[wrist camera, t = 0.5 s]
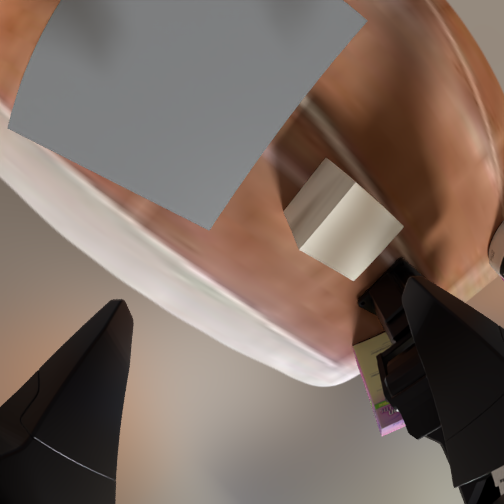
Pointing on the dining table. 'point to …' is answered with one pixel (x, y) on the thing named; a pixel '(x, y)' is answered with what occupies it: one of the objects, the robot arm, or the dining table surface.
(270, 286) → the dining table surface
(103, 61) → the base board
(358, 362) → the box
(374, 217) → the cube
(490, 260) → the supplement can
